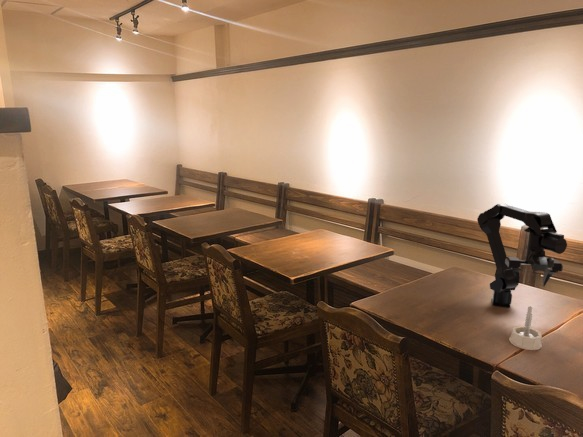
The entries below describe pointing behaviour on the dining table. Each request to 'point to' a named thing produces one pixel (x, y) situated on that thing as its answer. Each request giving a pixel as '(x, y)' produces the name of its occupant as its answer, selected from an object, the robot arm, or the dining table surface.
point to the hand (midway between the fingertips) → (530, 285)
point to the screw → (527, 324)
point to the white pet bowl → (526, 339)
